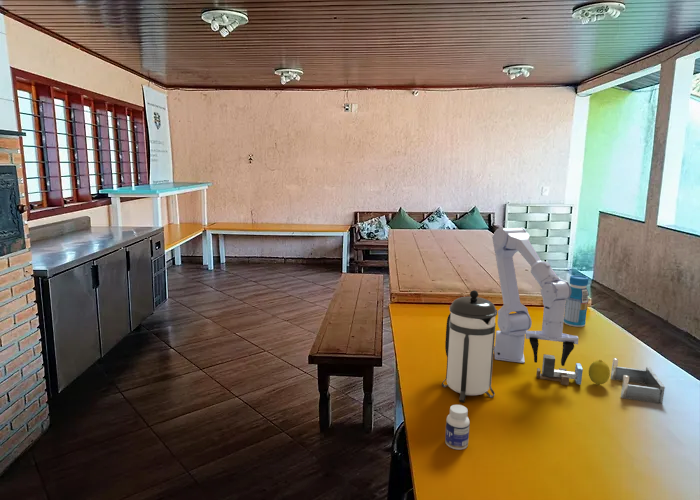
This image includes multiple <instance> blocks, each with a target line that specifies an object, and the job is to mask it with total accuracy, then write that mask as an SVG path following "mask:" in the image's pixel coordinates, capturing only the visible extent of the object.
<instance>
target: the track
mask: <svg viewBox="0 0 700 500" xmlns="http://www.w3.org/2000/svg"><path fill="white" fill-rule="evenodd" d="M558 370H562V371H568V370H567V369H566V368H562V367H558ZM536 379H538V380H547V381H555V382H560V385H562V386H569V383H570V379H569V376H564V375H561V377H547V376H543V375H542V370H541V368H539V367H538V368H536Z"/></svg>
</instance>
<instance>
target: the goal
mask: <svg viewBox="0 0 700 500" xmlns="http://www.w3.org/2000/svg"><path fill="white" fill-rule="evenodd" d="M618 365H619V358H616V357H614V358H612V365H611V370H610V371H611V372H610V379H611V380H613V381H622V383H621V386H622V387H621V390H620V391H621V393H620V398H621V399H628V400H633V401H634V400H635V401H641V402H648V403H655V404H656V403H657V404H663V402H664V395H665V389H666V387H665V385H664V384H663V382H662V381H661V380H660V379H659V377H658V376H657V375H656V373H655V372H654V371H653V369H652V368H651V367H649V366H646V367H645V369H639V368H631V367H624V366H618ZM629 382H631V383H639V384H644V385H645V386H643V385H637V384H629Z"/></svg>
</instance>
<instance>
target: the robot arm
mask: <svg viewBox="0 0 700 500" xmlns="http://www.w3.org/2000/svg"><path fill="white" fill-rule="evenodd" d="M491 237H492V238H491V239H492V243H493V249H494V250H493V251H494V254H495V261H496V266H497V271H498V279H499V284H500V285H499V286H500V291H501V295H502V296H501V297H502V303H503V305H502V306H501V307H500V308H499V309H498V310H497V326H498V329H499V330H495V339H494V352H493V353H494V360H496V361H503V362H504V361H505V362H512V363H519V364H525V355H524V350H525V339H526V340H529V343H530V346H531V349H532V354H533V360H534V361H533V362H534V363H538V353H539V352H538V351H539V344H540V343H539V340H543V341H550V342H561V343H562V353H561V359H560V365H561V366H562V367H565V365H566V362H567V360H568V357H569V355H570V354H571V353H572V352H573V350H574V349H575V345H579V339H580V338H579V336H578V335H572V334H567V333H563V329H564V314H565V303H566V299H568V298H569V297H570V295H571V287H570V286H571V284H570V282H568V281H567V280H565V279H562V278H561V277H559V276H558V275H557V274H556V272H555V271H554V270H553V268H552V265H551V264H550V262H548V261H545V260H541V258H540V256H539V254H538V253H537V251H536V249H535V248H534V247H533V245H532V243H531V242H530V240H531V239H530V238H531V236H530V234H529V233H528V231H527V230H526V228H525V227H522V226H519V227H503V228H502V227H498V228H497V229H495V231H494V233H493V235H492V236H491ZM516 253H520V256H522V257H523V259H524V261H526V262H527V263H528V264H529V266H530V267H531V269H530V273H531V275H532V276H533V278H534V279H535V281H536V282H537V283H538V284H539V286H540V294H541V298H542V304H543V316H542V323H541V324H542V325H541V327H542V328H541V330H530V329H531V327H532V318H531V316H530V314H529V311H528V307H526V306H525V305H524V304H522V303H521V298H520V292H519V286H518V281H517V275H516V269H515V263H514V258H513V257H514V256H515V254H516ZM512 312H513V313H512Z"/></svg>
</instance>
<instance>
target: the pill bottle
mask: <svg viewBox="0 0 700 500" xmlns="http://www.w3.org/2000/svg"><path fill="white" fill-rule="evenodd" d="M449 407H450V408H449V414H448V415H446V421H445V441H444V442H445V444H446V446H448V447H449V448H450V449H453V450H465V449H467V447H468V445H469V438H470V437H469V435H470V419H469V416H468V412H469V411H468V408H467V407H466V406H464V405H462V404H452V405H451V406H449Z"/></svg>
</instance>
